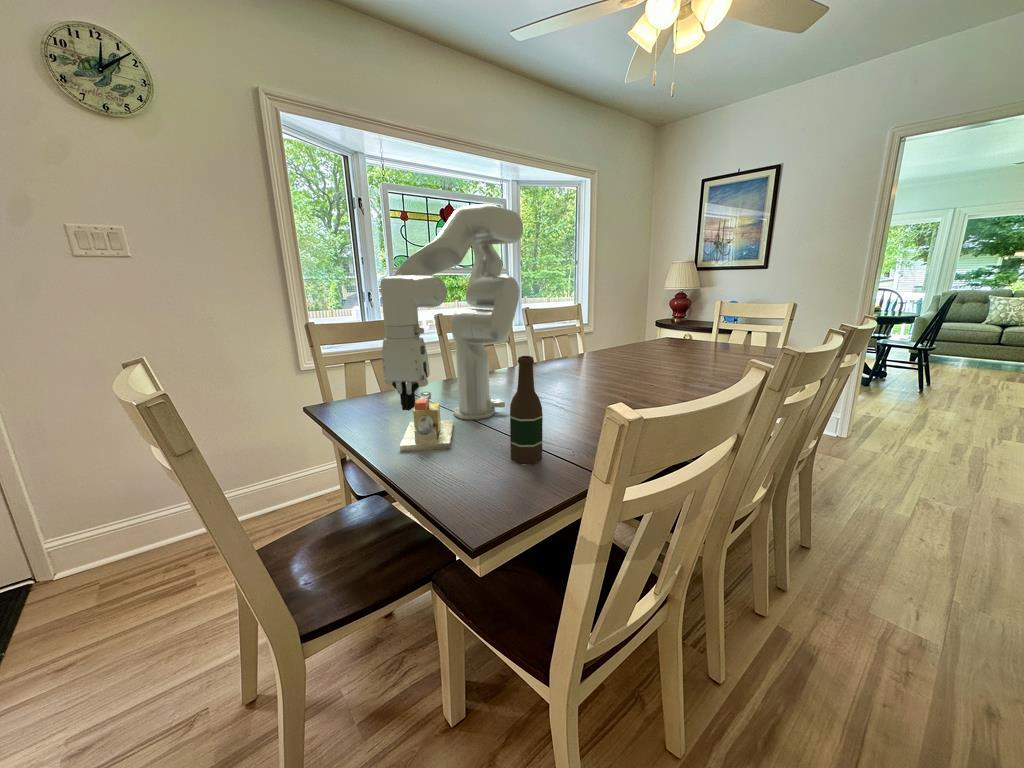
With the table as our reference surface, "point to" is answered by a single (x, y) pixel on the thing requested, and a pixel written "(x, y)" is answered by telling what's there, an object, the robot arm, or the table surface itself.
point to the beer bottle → (526, 417)
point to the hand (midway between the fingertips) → (408, 408)
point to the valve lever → (422, 401)
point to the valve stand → (427, 430)
